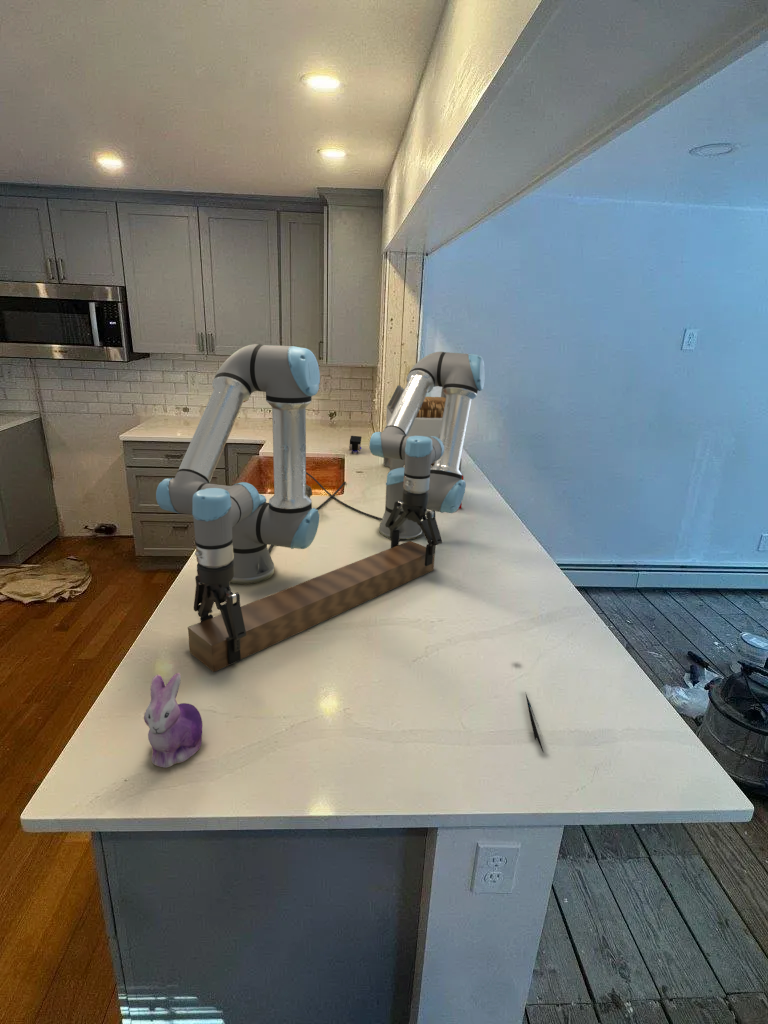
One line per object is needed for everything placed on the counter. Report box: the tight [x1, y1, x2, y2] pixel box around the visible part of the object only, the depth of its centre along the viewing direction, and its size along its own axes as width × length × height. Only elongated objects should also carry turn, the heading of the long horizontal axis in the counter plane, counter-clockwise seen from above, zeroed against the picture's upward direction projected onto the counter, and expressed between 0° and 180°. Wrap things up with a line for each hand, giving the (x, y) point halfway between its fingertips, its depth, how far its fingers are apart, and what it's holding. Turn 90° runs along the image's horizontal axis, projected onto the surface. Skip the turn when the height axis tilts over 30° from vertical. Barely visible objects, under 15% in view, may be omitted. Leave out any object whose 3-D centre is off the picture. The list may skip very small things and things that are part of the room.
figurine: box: [143, 672, 203, 768], centre depth 97 cm, size 9×10×15 cm
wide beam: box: [187, 540, 436, 673], centre depth 149 cm, size 75×10×7 cm, turn 137°
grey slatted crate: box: [383, 384, 463, 472], centre depth 268 cm, size 34×33×41 cm
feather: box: [525, 691, 547, 753], centre depth 115 cm, size 2×28×2 cm
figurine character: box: [348, 435, 363, 455], centre depth 309 cm, size 7×8×15 cm
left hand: (221, 651), depth 127 cm, fingers closed on wide beam, 10 cm apart
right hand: (411, 557), depth 171 cm, fingers open, 13 cm apart
